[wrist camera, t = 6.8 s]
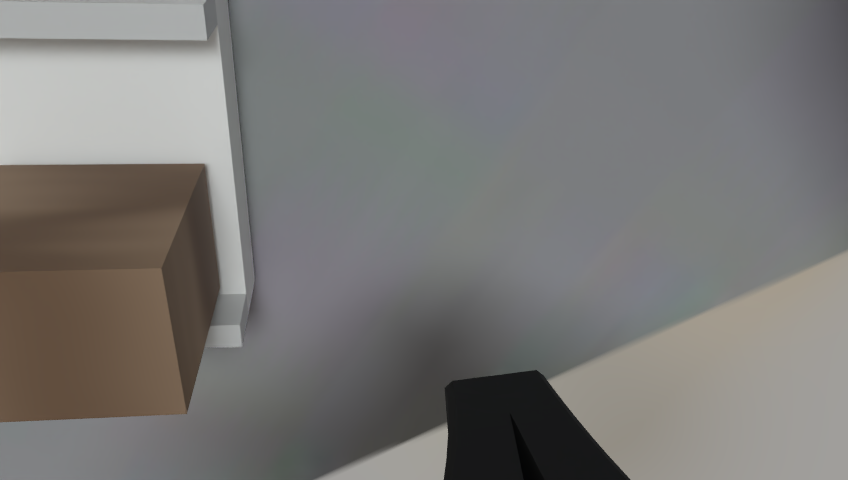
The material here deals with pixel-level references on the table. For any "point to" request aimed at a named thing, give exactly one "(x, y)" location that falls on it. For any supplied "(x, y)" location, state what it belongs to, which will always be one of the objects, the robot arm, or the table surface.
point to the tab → (103, 289)
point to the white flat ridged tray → (134, 108)
